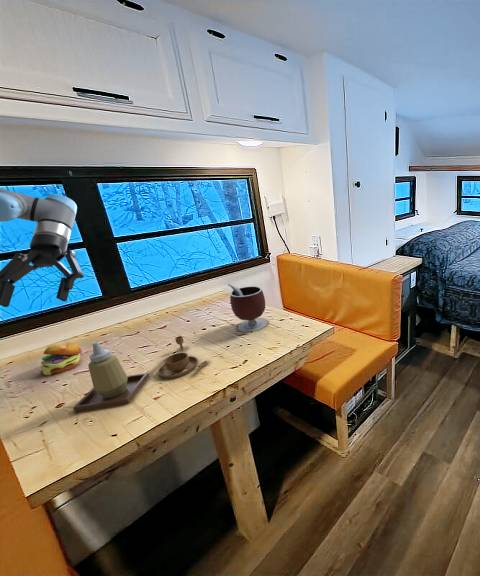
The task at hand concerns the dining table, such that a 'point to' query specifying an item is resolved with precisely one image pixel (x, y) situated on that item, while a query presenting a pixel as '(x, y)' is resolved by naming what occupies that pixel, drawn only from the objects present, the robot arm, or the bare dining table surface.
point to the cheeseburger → (60, 358)
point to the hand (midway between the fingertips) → (32, 302)
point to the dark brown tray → (97, 401)
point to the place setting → (179, 362)
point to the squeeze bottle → (106, 373)
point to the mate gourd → (248, 307)
